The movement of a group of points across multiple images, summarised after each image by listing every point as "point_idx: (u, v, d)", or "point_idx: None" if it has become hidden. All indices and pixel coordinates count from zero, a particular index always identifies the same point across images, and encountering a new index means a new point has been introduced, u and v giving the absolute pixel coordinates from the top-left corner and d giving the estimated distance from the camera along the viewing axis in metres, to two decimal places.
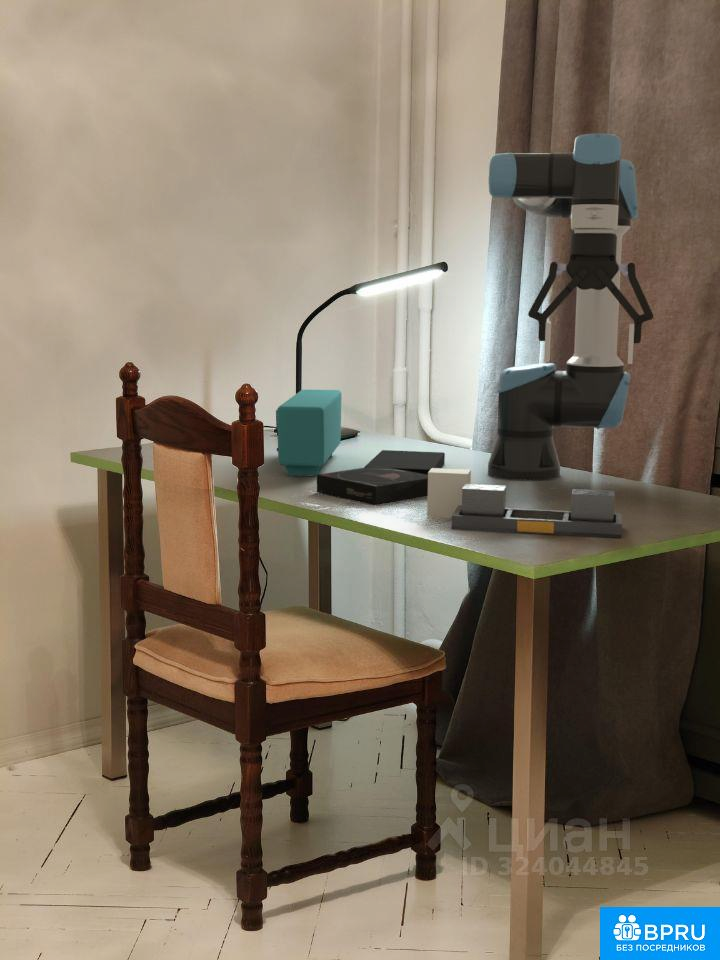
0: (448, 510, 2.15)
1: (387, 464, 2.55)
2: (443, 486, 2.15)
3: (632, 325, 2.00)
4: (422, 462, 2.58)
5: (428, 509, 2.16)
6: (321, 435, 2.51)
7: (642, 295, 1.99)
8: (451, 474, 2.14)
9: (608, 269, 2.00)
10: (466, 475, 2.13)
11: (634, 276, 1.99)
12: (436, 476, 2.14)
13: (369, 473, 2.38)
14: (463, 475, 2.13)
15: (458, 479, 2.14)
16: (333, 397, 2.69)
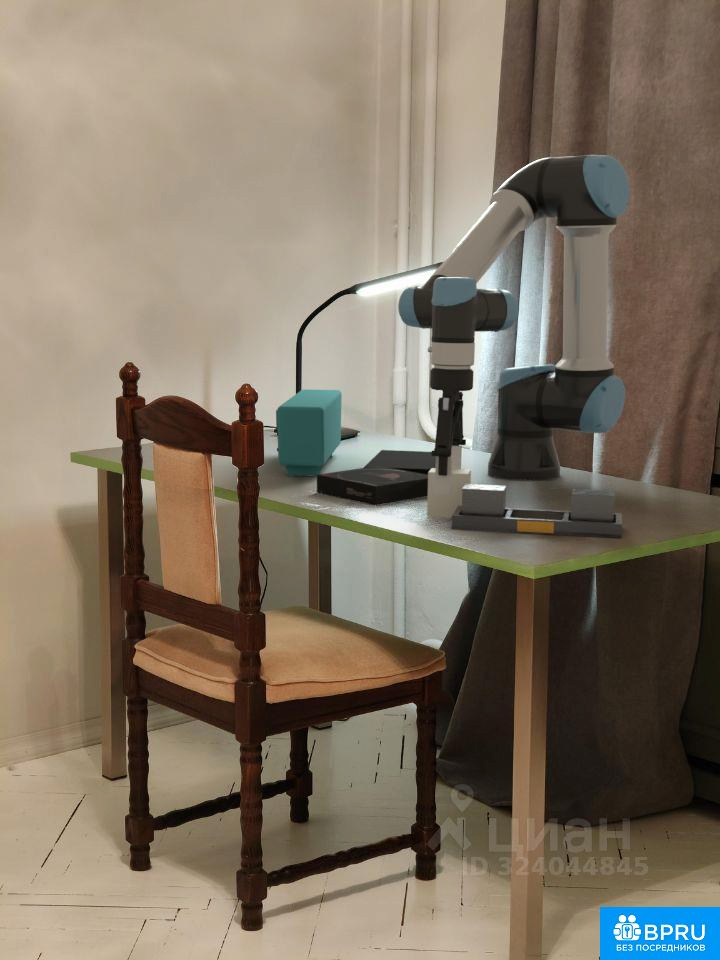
0: (448, 510, 2.15)
1: (387, 464, 2.55)
2: None
3: (436, 457, 2.09)
4: (422, 462, 2.58)
5: (428, 509, 2.16)
6: (321, 435, 2.51)
7: None
8: None
9: None
10: (466, 475, 2.13)
11: None
12: None
13: (369, 473, 2.39)
14: (463, 475, 2.13)
15: (458, 479, 2.14)
16: (333, 397, 2.69)
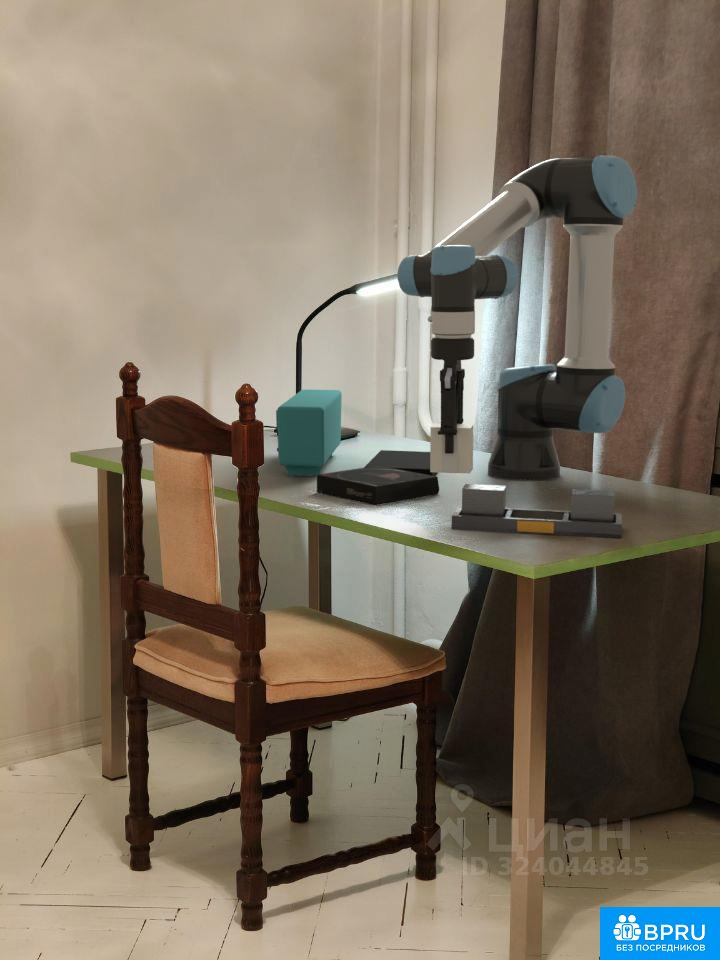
0: None
1: (387, 464, 2.55)
2: None
3: (442, 435, 2.13)
4: (422, 462, 2.58)
5: (431, 464, 2.15)
6: (322, 435, 2.51)
7: (441, 409, 2.09)
8: None
9: None
10: (469, 429, 2.12)
11: (441, 389, 2.08)
12: None
13: (369, 473, 2.38)
14: (466, 429, 2.12)
15: (461, 433, 2.13)
16: (333, 397, 2.69)
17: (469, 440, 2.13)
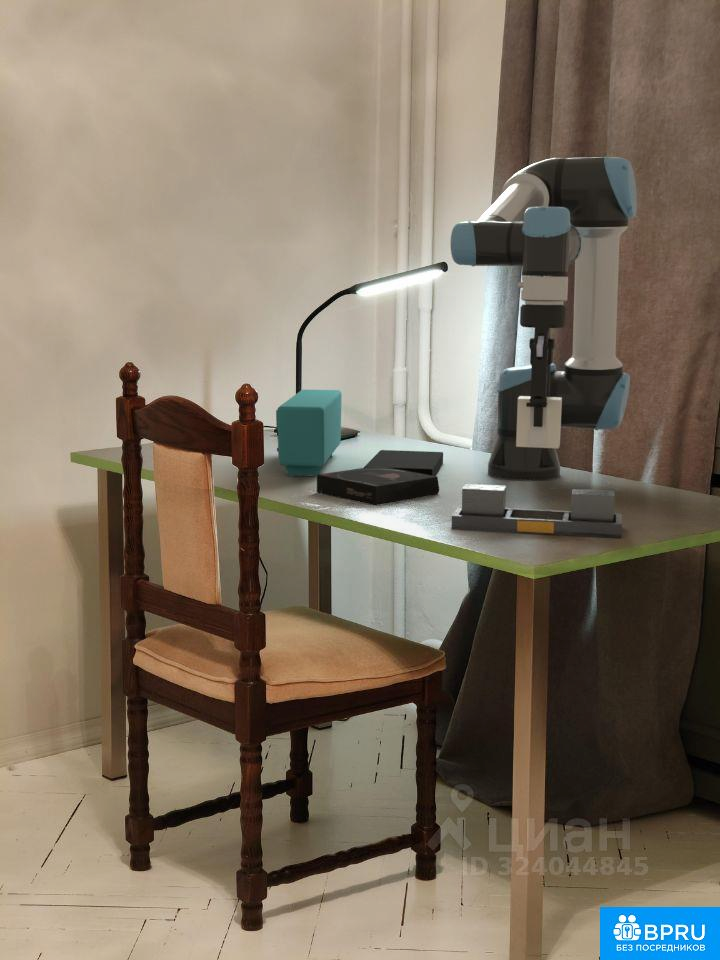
0: None
1: (387, 464, 2.55)
2: None
3: None
4: (421, 462, 2.58)
5: (517, 438, 2.03)
6: (322, 435, 2.51)
7: (531, 378, 1.98)
8: None
9: None
10: (559, 401, 2.01)
11: (532, 358, 1.97)
12: None
13: (369, 473, 2.39)
14: (555, 401, 2.01)
15: (550, 405, 2.01)
16: (333, 397, 2.69)
17: (559, 413, 2.01)
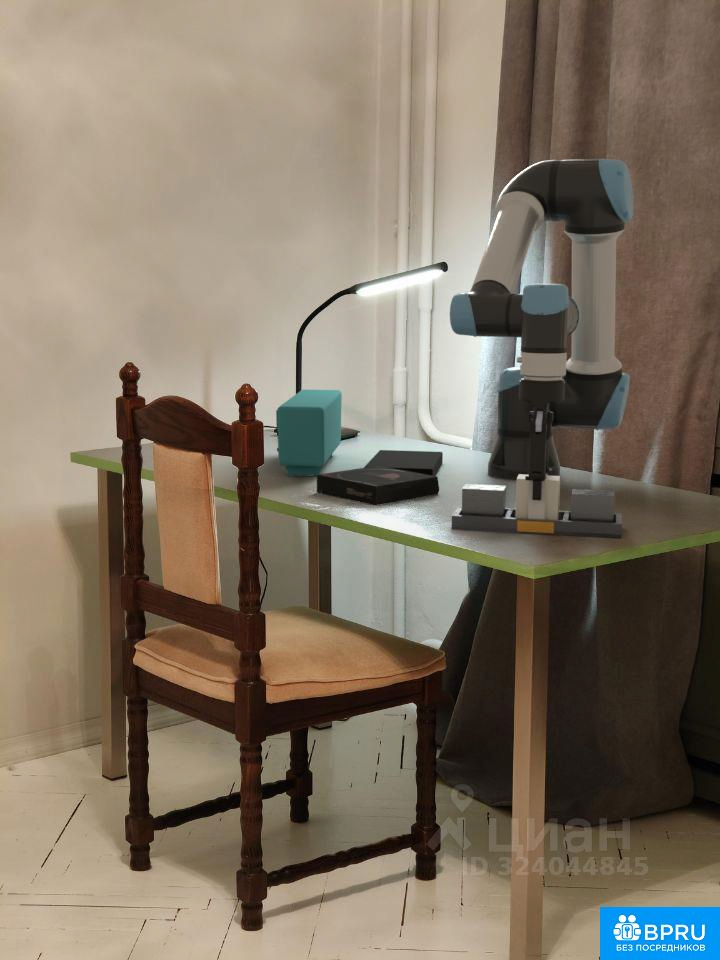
0: None
1: (387, 464, 2.55)
2: None
3: (529, 481, 2.03)
4: (421, 461, 2.58)
5: (516, 517, 2.06)
6: (322, 435, 2.51)
7: (530, 453, 2.00)
8: None
9: None
10: (557, 482, 2.03)
11: (531, 433, 1.99)
12: (525, 483, 2.05)
13: (369, 473, 2.39)
14: (554, 482, 2.03)
15: (549, 485, 2.04)
16: (333, 397, 2.69)
17: (557, 493, 2.04)
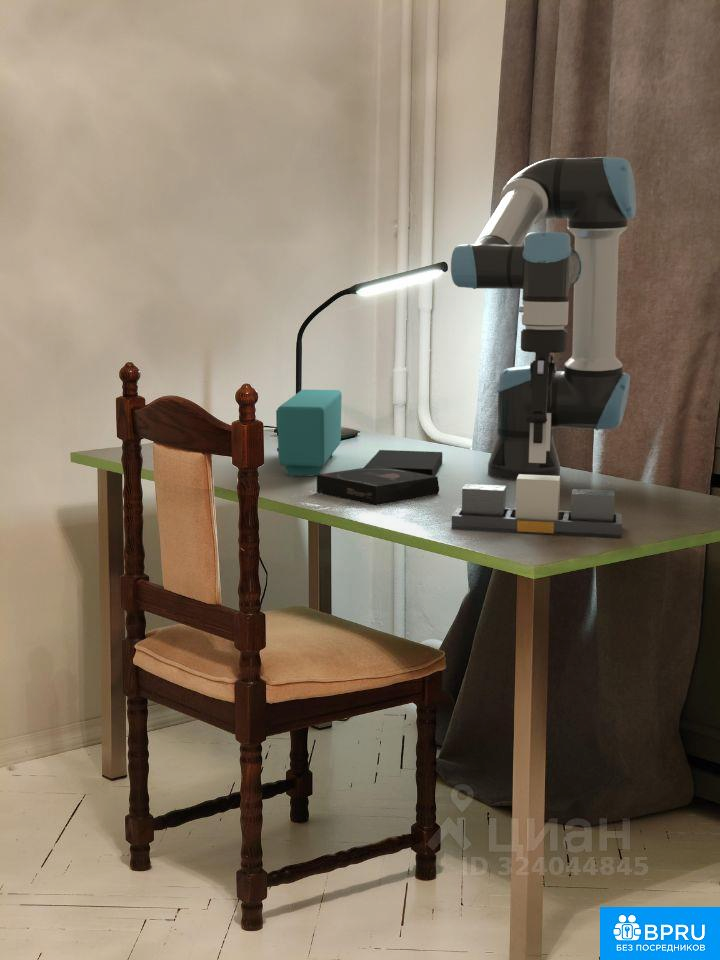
0: (537, 518, 2.05)
1: (387, 464, 2.55)
2: (532, 493, 2.05)
3: (530, 424, 1.98)
4: (421, 462, 2.58)
5: (516, 517, 2.06)
6: (322, 435, 2.51)
7: (531, 394, 1.96)
8: (541, 481, 2.04)
9: None
10: (557, 482, 2.03)
11: (532, 374, 1.97)
12: (525, 483, 2.05)
13: (369, 473, 2.39)
14: (554, 482, 2.03)
15: (549, 485, 2.04)
16: (333, 397, 2.69)
17: (557, 493, 2.04)
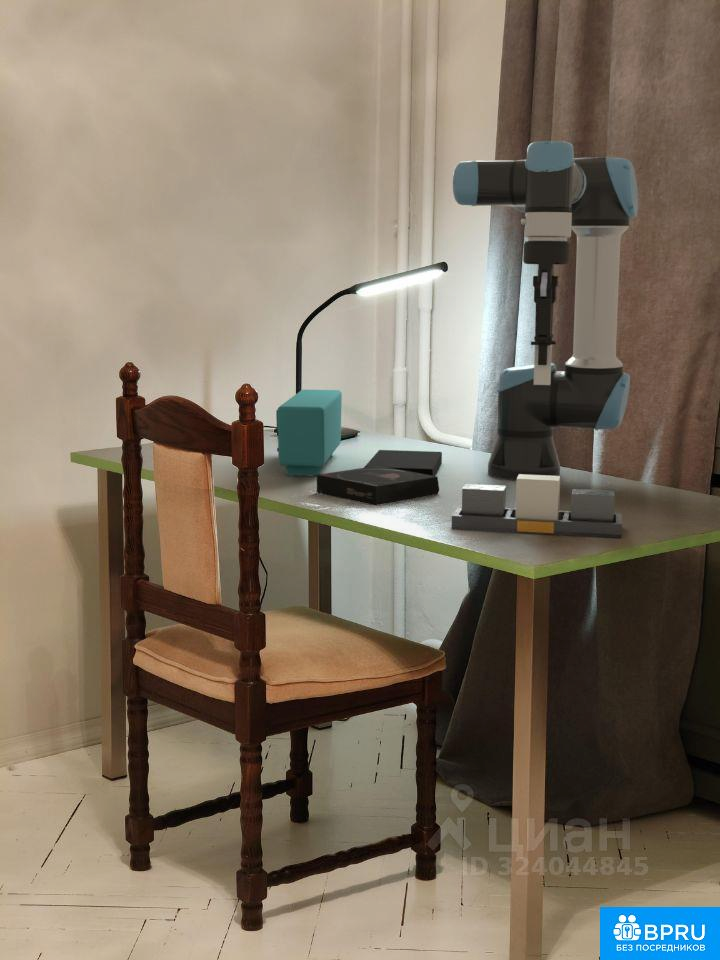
0: (537, 518, 2.05)
1: (387, 464, 2.55)
2: (532, 493, 2.05)
3: None
4: (421, 461, 2.58)
5: (516, 517, 2.06)
6: (322, 435, 2.51)
7: None
8: (541, 481, 2.04)
9: None
10: (557, 482, 2.03)
11: (535, 297, 1.96)
12: (525, 483, 2.05)
13: (369, 473, 2.38)
14: (554, 482, 2.03)
15: (549, 485, 2.04)
16: (333, 397, 2.69)
17: (557, 493, 2.04)
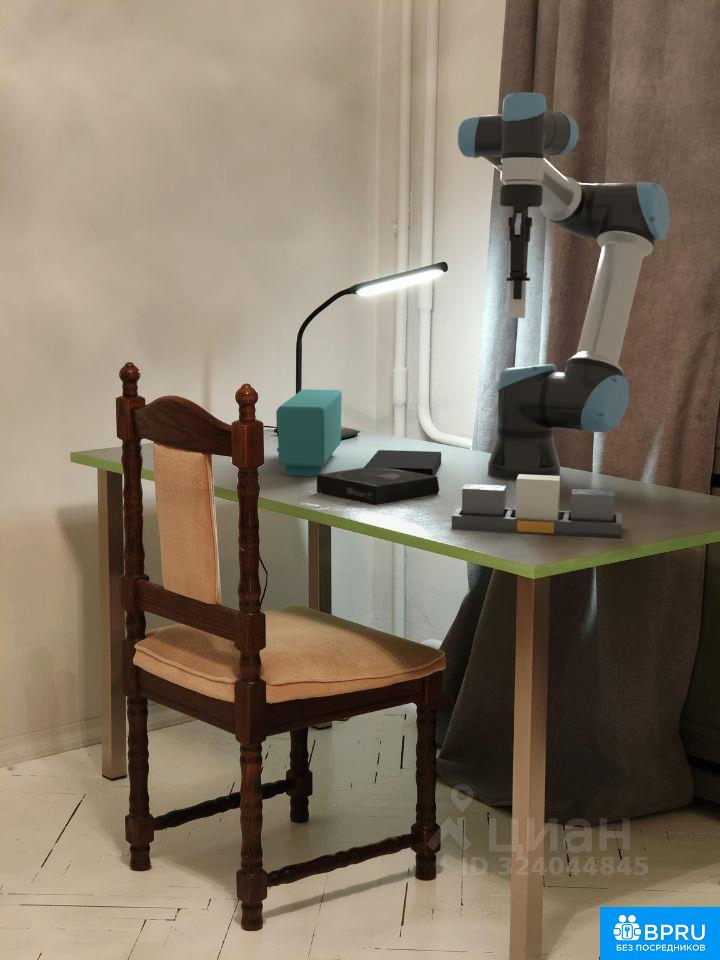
0: (537, 518, 2.05)
1: (387, 464, 2.55)
2: (532, 493, 2.05)
3: None
4: (421, 461, 2.58)
5: (516, 517, 2.06)
6: (322, 435, 2.51)
7: None
8: (541, 481, 2.04)
9: None
10: (557, 482, 2.03)
11: (510, 235, 2.15)
12: (525, 483, 2.05)
13: (369, 473, 2.38)
14: (554, 482, 2.03)
15: (549, 485, 2.04)
16: (333, 397, 2.69)
17: (557, 493, 2.04)
